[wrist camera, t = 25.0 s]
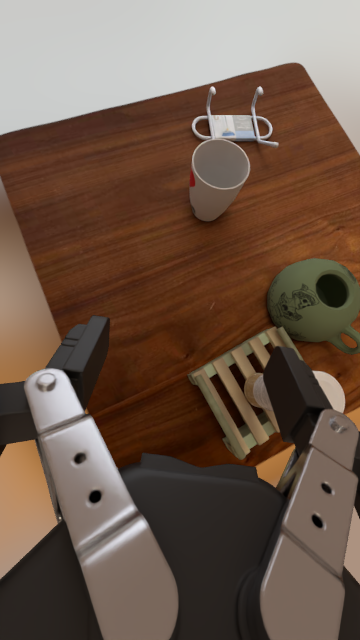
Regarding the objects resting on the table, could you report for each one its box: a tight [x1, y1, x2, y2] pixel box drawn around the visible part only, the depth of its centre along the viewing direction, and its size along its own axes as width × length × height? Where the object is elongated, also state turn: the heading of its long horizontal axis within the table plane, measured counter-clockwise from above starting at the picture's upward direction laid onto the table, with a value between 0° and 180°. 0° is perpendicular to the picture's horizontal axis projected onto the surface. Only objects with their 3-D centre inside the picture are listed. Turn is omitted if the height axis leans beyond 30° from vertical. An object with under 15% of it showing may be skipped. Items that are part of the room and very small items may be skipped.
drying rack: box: [187, 326, 304, 460], centre depth 37 cm, size 14×12×6 cm
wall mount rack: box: [192, 87, 278, 148], centre depth 47 cm, size 16×14×6 cm
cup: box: [190, 139, 250, 221], centre depth 41 cm, size 8×8×10 cm
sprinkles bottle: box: [244, 371, 345, 413], centre depth 29 cm, size 5×5×14 cm
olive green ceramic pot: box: [267, 258, 360, 355], centre depth 40 cm, size 16×13×9 cm
